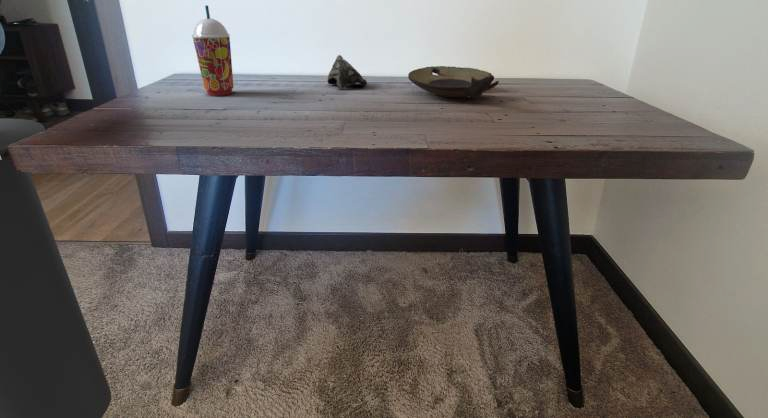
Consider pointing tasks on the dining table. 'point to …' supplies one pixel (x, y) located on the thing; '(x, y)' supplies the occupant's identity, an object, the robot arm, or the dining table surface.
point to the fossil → (344, 74)
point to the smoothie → (214, 56)
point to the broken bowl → (453, 81)
